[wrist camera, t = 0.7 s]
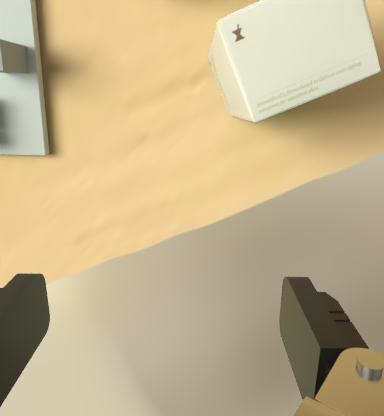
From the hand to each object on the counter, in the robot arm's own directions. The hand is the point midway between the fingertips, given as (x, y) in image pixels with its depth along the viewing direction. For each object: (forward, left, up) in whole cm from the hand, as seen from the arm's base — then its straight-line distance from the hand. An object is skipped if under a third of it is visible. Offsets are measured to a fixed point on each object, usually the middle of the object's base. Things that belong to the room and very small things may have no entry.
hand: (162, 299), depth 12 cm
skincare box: (-9, +7, -27) cm, 30 cm away
